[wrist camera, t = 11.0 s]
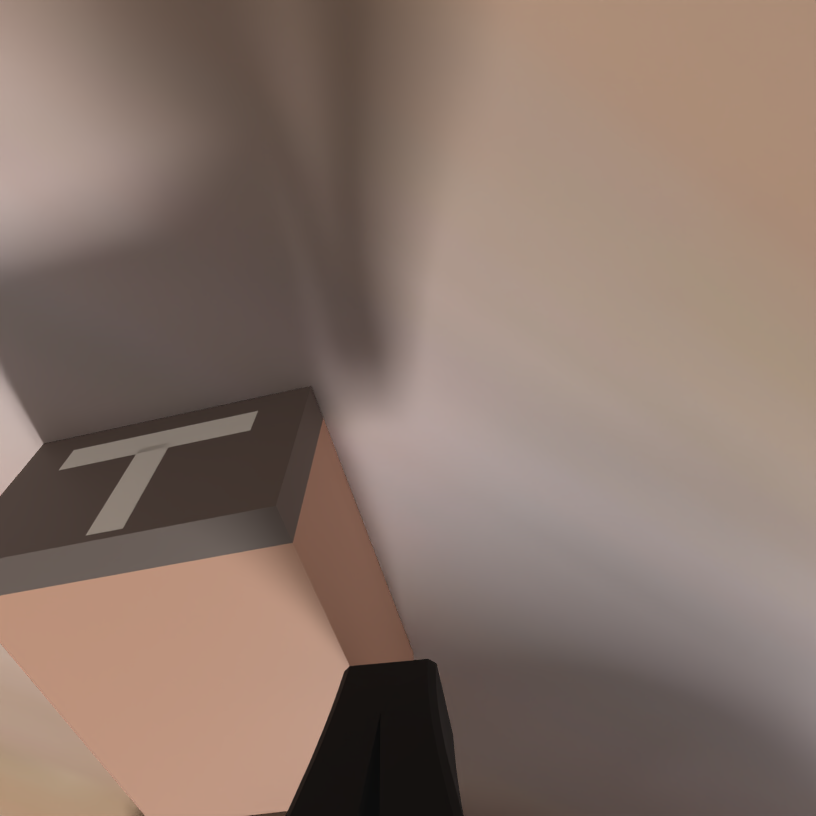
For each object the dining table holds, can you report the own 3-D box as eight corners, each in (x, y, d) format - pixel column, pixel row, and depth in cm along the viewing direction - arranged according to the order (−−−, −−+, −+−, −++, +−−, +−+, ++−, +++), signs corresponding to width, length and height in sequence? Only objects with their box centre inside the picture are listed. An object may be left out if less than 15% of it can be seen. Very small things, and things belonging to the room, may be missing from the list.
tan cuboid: (-62, 569, 10) (153, 826, 14) (275, 505, 10) (410, 796, 13) (45, 440, 13) (201, 682, 17) (311, 383, 12) (413, 650, 16)
